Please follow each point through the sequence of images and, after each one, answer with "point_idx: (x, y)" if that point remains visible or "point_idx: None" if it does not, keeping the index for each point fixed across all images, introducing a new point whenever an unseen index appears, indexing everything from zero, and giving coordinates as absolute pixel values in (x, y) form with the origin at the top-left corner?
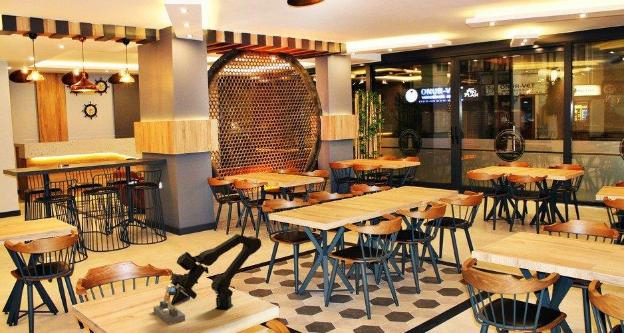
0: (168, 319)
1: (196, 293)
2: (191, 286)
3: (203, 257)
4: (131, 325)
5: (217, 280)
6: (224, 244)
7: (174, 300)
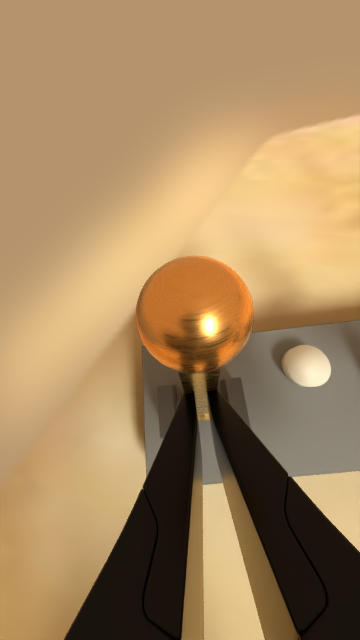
0: (143, 352)
1: None
2: None
3: None
4: (236, 212)
5: None
6: None
7: (163, 442)
